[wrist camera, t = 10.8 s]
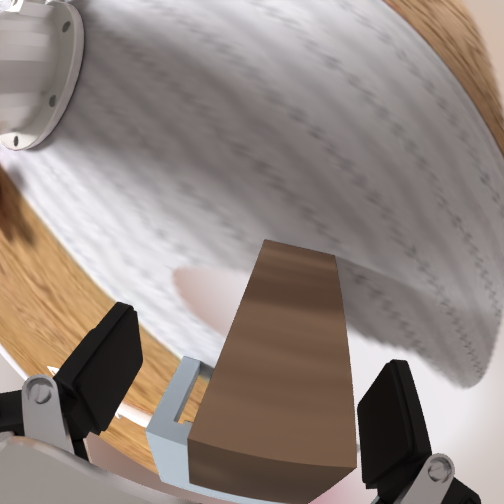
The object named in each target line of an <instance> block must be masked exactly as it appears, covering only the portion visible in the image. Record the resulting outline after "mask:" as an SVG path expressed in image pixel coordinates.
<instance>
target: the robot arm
mask: <svg viewBox="0 0 504 504" xmlns="http://www.w3.org/2000/svg"><path fill="white" fill-rule="evenodd" d="M83 48H84V28H83V23H82V18H81V16H80V14H79V12H78V10H77V9H76V8H75V7H74V6H73V5H71V4H69V3H66V2H63V1H58V0H51V1H46V0H11V5H10V8H9V9H8V10H6V11H0V142H1V143H2V144H3V145H4V146H5V147H7V148H8V149H11V150H14V151H18V150H24V149H28V148H31V147H34V146H36V145H37V144H39V143H41V142H42V141H43V140H44V139H45V138H46V137H47V136H48V135H49V134H50V133H51V131H52V130H53V129H54V127H55V126H56V125H57V123H58V122H59V120H60V118H61V116H62V115H63V113H64V111H65V109H66V107H67V105H68V102H69V100H70V98H71V96H72V93H73V90H74V87H75V84H76V81H77V78H78V75H79V70H80V66H81V62H82V55H83ZM142 363H143V355H142V348H141V341H140V333H139V325H138V316H137V312H136V311H134V308H133V306H131V305H128V304H125V303H122V302H117V303H116V304H115V305H114V306H113V307H112V308H111V310H110V311H109V312H108V313H107V314H106V316H105V317H104V318H103V319H102V320H101V321H100V323H99V324H98V325H97V326H96V328H94V329H92V330H91V331H89V333H88V334H87V335H86V336H85V337H84V339H83V340H82V341H81V342H80V344H79V345H78V346H77V347H76V349H75V350H74V351H73V352H72V354H71V355H70V356H69V357H68V359H67V360H66V361H65V363H64V364H63V365H62V366H61V368H60V369H59V370H58V372H57V373H56V374H55V376H54V377H53V378H51V377H50V376H48V375H44V374H37V375H33V376H31V377H30V378H28V379H27V380H26V381H25V382H24V385H23V387H22V390H18V391H12V392H6V393H0V504H201V503H197V502H193V501H189V500H186V499H182V498H179V497H175V496H172V495H169V494H166V493H163V492H160V491H157V490H154V489H151V488H148V487H145V486H143V485H140V484H137V483H135V482H133V481H130V480H128V479H125V478H123V477H120V476H118V475H116V474H113V473H111V472H109V471H107V470H104V469H102V468H100V467H98V466H96V465H94V464H93V462H92V459H91V455H90V452H89V449H88V445H87V441H86V437H87V435H88V433H89V432H92V433H94V434H96V435H98V436H99V435H100V433H101V431H106V429H107V428H108V426H109V424H110V422H111V421H112V419H113V417H114V415H115V413H116V411H117V409H118V408H119V406H120V404H121V402H122V400H123V398H124V397H125V395H126V393H127V391H128V389H129V388H130V386H131V384H132V382H133V380H134V379H135V377H136V375H137V373H138V371H139V370H140V368H141V366H142ZM357 415H358V425H359V437H360V450H361V465H362V481H363V483H366V489H377V492H378V495H377V496H376V498H375V499H374V500H373V502H372V503H371V504H481V499H480V498H479V495H478V494H477V493H475V492H474V491H473V490H471V489H470V488H468V487H467V486H465V485H464V484H463V483H462V482H460V481H459V480H457V479H456V478H455V477H454V474H455V468H454V464H453V462H452V461H451V459H450V458H449V457H448V456H447V455H444V454H439V453H437V454H433V455H432V451H431V445H430V441H429V437H428V432H427V428H426V424H425V420H424V416H423V412H422V408H421V404H420V401H419V397H418V394H417V390H416V387H415V384H414V380H413V377H412V374H411V371H410V368H409V365H408V362H407V361H406V360H395V359H393V360H391V361H390V362H389V363H386V364H385V366H384V367H383V369H382V371H381V372H380V373H379V375H378V376H377V378H376V379H375V381H374V382H373V384H372V385H371V387H370V388H369V390H368V391H367V392H366V394H365V395H364V396H363V398H362V400H361V401H360V402H359V404H358V407H357Z"/></svg>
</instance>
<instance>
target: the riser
mask: <svg viewBox="0 0 504 504" xmlns="http://www.w3.org/2000/svg"><path fill="white" fill-rule="evenodd" d="M199 373H200V361H198V360H194V359H191V358H188V357H185V356H183V358H182V360H181V362H180V364H179V366H178V368H177V370H176V372H175V374H174V376H173V377H172V379H171V381H170V383H169V385H168V387H167V389H166V391H165V393H164V395H163V397H162V398H161V400H160V402H159V404H158V406H157V408H156V410H155V412H154V414H153V416H152V418H151V420H150V422H149V424H148V426H147V428H146V429H145V433H146V436H147V440H148V443H149V446H150V449H151V452H152V455H153V458H154V461H155V464H156V467H157V470H158V473H159V475H160V478H161V481H163V482H166V483H168V484H171V485H174V486H177V487H180V488H183V489H186V490H190V491H193V492H196V493H199V494H204V495H207V496H210V497H214V498H218V499H223V500H227V501H231V502H236V503H241V504H285V503H277V502H270V501H263V500H257V499H251V498H246V497H241V496H236V495H231V494H227V493H223V492H219V491H215V490H211V489H207V488H204V487H200V486H197V485H193V484H190V483H189V470H188V450H187V437H188V434H189V432H190V429H191V427H192V424H193V423H191V422H188V421H185V420H184V423H183V424H180V423H178V420H179V418H180V416H181V414H182V411H183V409H184V407H185V404H186V402H187V400H188V398H189V395H190V393H191V391H192V389H193V386H194V384H195V382H196V380H197V377H198V375H199Z"/></svg>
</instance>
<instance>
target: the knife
mask: <svg viewBox="0 0 504 504" xmlns="http://www.w3.org/2000/svg"><path fill="white" fill-rule="evenodd" d="M47 367H48V366H47ZM48 368H49V370H50V371H51V370H53V371H54V372H55V373H57V372H58V370H59V369H58V368H54V367H48ZM51 373H52V371H51ZM52 374H53V373H52ZM53 375H54V374H53ZM54 376H55V375H54ZM115 415H116V417H117V418H119V419H122V418H123V417H124V416H125V417H126V418H128V419H130V420H131V421H133V422H135V423H137V424H139V425H141V426H143V427H146V428H147V426H148V424H149V422H150V420H151V418H152V416H153V414H152V413H150V412H148V411H145V410H143V409H141V408H139V407H137V406H134V405H132V404H130V403H128V402H126V401H124V400H122V402H121V404H120V406H119V408H118V409H117V411H116V413H115Z"/></svg>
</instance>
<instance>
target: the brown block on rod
mask: <svg viewBox="0 0 504 504" xmlns="http://www.w3.org/2000/svg"><path fill="white" fill-rule="evenodd" d="M350 365H351V364H350V355H349V346H348V338H347V330H346V323H345V316H344V309H343V302H342V296H341V290H340V284H339V278H338V272H337V266H336V261H335V256H334V255H330V254H326V253H322V252H317V251H313V250H309V249H304V248H300V247H296V246H291V245H287V244H282V243H278V242H273V241H269V240H264V243H263V245H262V248H261V251H260V253H259V256H258V258H257V261H256V264H255V266H254V269H253V271H252V274H251V277H250V279H249V282H248V284H247V287H246V290H245V292H244V295H243V297H242V300H241V302H240V305H239V308H238V310H237V313H236V316H235V318H234V320H233V323H232V326H231V328H230V331H229V333H228V336H227V338H226V341H225V343H224V346H223V349H222V351H221V354H220V356H219V359H218V361H217V364H216V366H215V369H214V371H213V374H212V377H211V379H210V382H209V384H208V387H207V389H206V392H205V394H204V397H203V399H202V402H201V404H200V407H199V409H198V412H197V414H196V417H195V419H194V422H193V424H192V427H191V429H190V432H189V434H188V437H187V450H188V470H189V483H190V484H193V485H197V486H200V487H204V488H207V489H211V490H215V491H219V492H223V493H227V494H231V495H236V496H241V497H246V498H251V499H257V500H263V501H270V502H277V503H285V504H308V503H310V502H311V501H313V500H314V499H316V498H317V497H319V496H320V495H321V494H323V493H324V492H326V491H327V490H329V489H330V488H331V487H332V486H334V485H335V484H337V483H338V482H339V481H340V480H342V479H343V478H344V477H346V476H347V475H348V474H349V473H351V472H352V471H353V470H354V469H355V468H357V450H356V428H355V410H354V396H353V384H352V374H351V366H350Z"/></svg>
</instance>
